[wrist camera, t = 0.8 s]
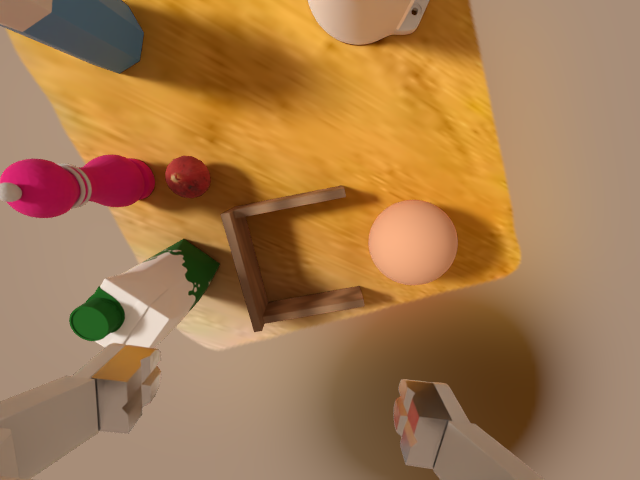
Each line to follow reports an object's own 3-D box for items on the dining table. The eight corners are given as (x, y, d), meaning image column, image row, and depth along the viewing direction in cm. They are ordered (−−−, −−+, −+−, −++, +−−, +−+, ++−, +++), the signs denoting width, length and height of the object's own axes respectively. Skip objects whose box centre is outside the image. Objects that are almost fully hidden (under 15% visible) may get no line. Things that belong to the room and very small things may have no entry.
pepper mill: (166, 193, 46) (55, 217, 27) (126, 209, 47) (-11, 242, 28) (144, 148, 44) (8, 138, 25) (102, 165, 45) (-62, 168, 26)
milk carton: (182, 231, 48) (87, 278, 28) (228, 263, 49) (168, 329, 30) (155, 270, 50) (48, 341, 30) (200, 301, 51) (127, 386, 32)
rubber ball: (393, 180, 45) (418, 186, 34) (453, 222, 47) (496, 242, 36) (348, 242, 48) (357, 267, 36) (406, 280, 50) (432, 316, 38)
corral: (342, 185, 46) (345, 189, 39) (360, 292, 50) (366, 312, 44) (235, 206, 47) (220, 214, 40) (263, 309, 51) (254, 332, 45)
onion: (225, 178, 46) (206, 182, 38) (199, 202, 47) (175, 210, 39) (198, 148, 44) (172, 145, 37) (172, 173, 45) (141, 176, 38)
